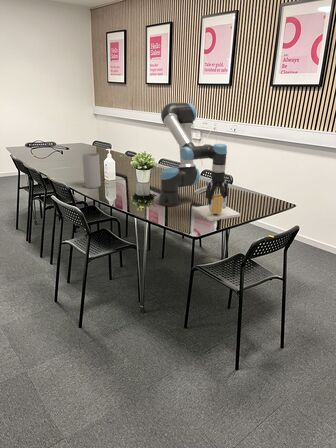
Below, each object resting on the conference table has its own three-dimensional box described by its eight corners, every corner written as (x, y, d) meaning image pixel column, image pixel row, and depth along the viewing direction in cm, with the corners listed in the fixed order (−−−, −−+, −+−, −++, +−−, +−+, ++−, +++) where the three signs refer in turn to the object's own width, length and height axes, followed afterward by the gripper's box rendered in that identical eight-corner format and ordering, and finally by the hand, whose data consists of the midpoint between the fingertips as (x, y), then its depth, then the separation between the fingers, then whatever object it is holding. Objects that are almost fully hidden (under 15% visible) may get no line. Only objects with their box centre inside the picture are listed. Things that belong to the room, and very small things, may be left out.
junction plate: (192, 209, 218) (192, 195, 214) (221, 205, 226) (222, 191, 223) (209, 221, 199) (210, 206, 196) (240, 216, 208) (241, 201, 204)
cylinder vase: (102, 184, 271) (100, 153, 261) (98, 188, 259) (96, 156, 250) (87, 183, 272) (85, 152, 262) (82, 188, 260) (79, 155, 251)
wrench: (193, 197, 251) (220, 186, 268) (195, 198, 250) (222, 187, 266) (193, 187, 247) (220, 176, 264) (195, 188, 246) (222, 177, 263)
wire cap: (207, 210, 207) (208, 194, 203) (217, 209, 209) (218, 193, 206) (213, 214, 201) (214, 198, 197) (223, 212, 203) (225, 196, 200)
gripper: (207, 174, 189) (204, 212, 197) (236, 171, 196) (233, 208, 205) (200, 171, 195) (198, 208, 204) (229, 168, 203) (226, 204, 211)
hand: (215, 208), depth 204 cm, fingers closed on wire cap, 7 cm apart
